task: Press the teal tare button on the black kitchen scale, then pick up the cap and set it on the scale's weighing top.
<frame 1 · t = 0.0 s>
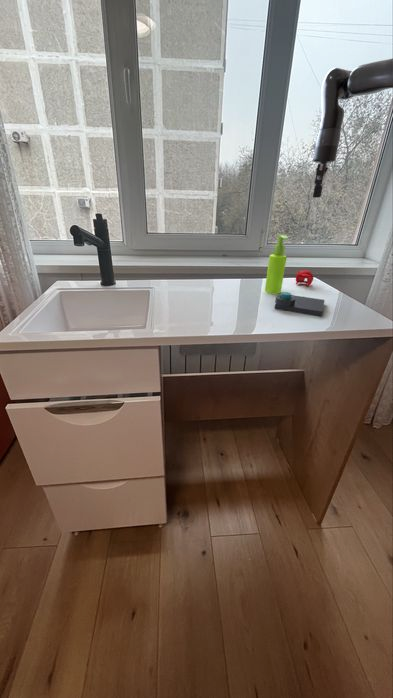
hand: (316, 197, 109), 31 cm above the worktop, tool pointing down, fingers open, 8 cm apart
soap dispenser: (273, 292, 107), on the worktop
tare button: (286, 296, 90), point 4 cm above the worktop, slide at 0.1 cm
scale: (299, 306, 93), on the worktop
cap: (302, 285, 116), on the worktop
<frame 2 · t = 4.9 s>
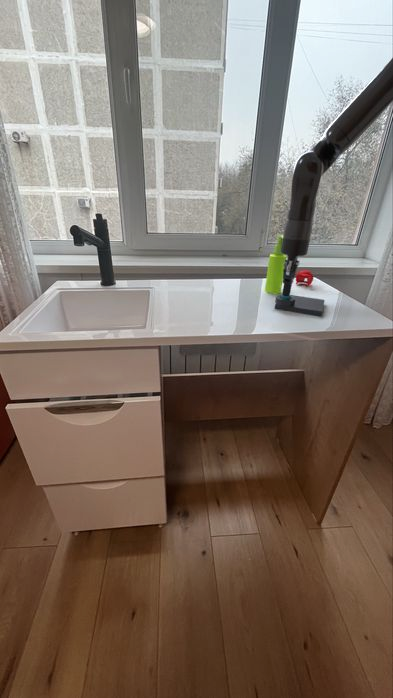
hand: (285, 295, 90), 4 cm above the worktop, tool pointing down, fingers closed
tare button: (285, 297, 91), point 3 cm above the worktop, slide at -0.5 cm, touching gripper
everything else where it was.
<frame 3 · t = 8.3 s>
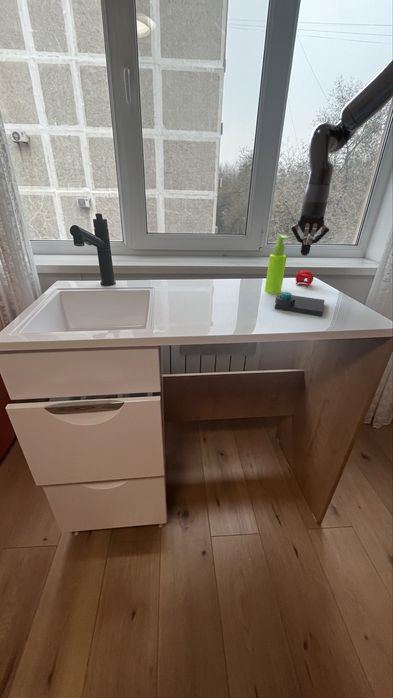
hand: (304, 255, 102), 13 cm above the worktop, tool pointing down, fingers closed
tare button: (286, 296, 90), point 4 cm above the worktop, slide at 0.1 cm
everything else where it was.
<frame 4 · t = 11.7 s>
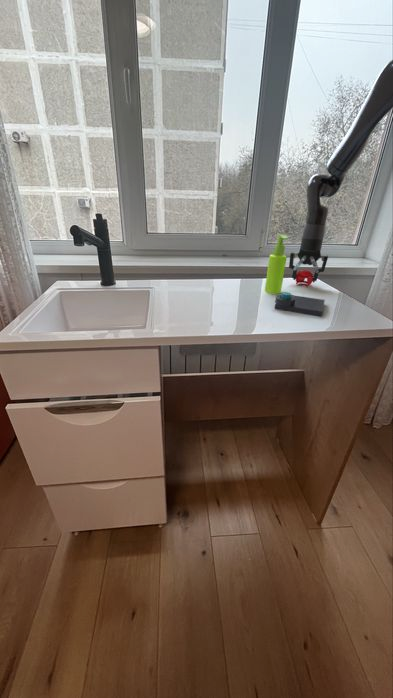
hand: (303, 280, 115), 2 cm above the worktop, tool pointing down, fingers closed on cap, 7 cm apart
cap: (302, 285, 116), on the worktop, touching gripper
everything else where it was.
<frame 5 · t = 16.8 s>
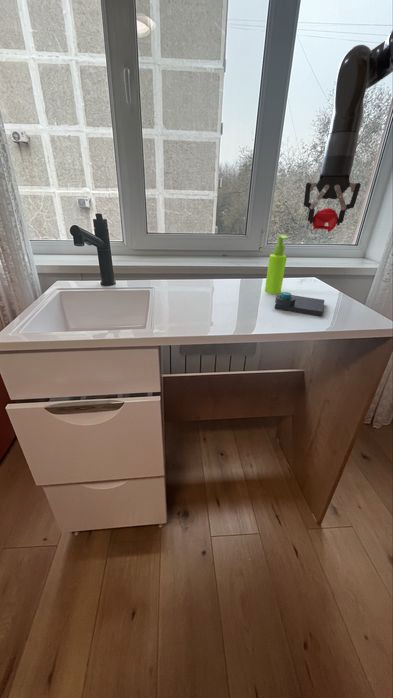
hand: (324, 224, 83), 25 cm above the worktop, tool pointing down, fingers closed on cap, 7 cm apart
cap: (322, 231, 84), point 23 cm above the worktop, touching gripper
everything else where it was.
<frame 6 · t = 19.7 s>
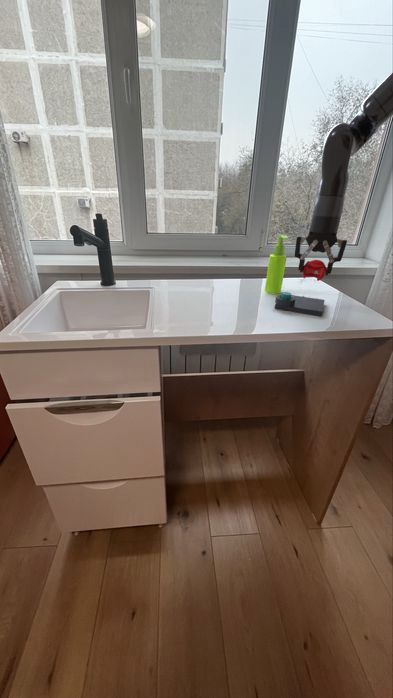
hand: (313, 273, 88), 11 cm above the worktop, tool pointing down, fingers closed on cap, 7 cm apart
cap: (311, 279, 89), point 9 cm above the worktop, touching gripper
everything else where it was.
when the fingers open (4 cm above the worktop, at t = 22.2 s): cap stays where it is, resting on scale.
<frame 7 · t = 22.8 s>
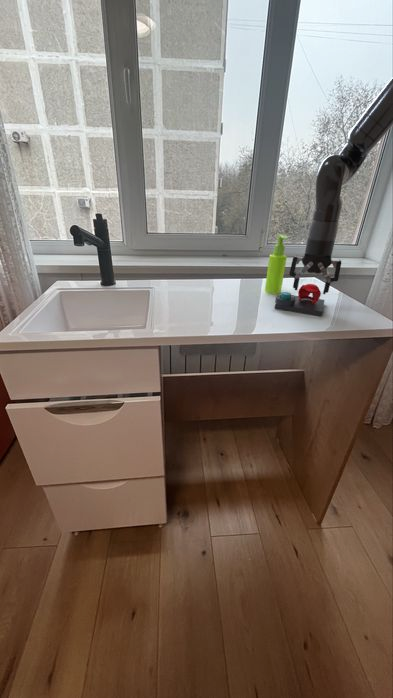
hand: (309, 291, 91), 5 cm above the worktop, tool pointing down, fingers open, 8 cm apart
cap: (306, 302, 93), point 2 cm above the worktop, touching scale
everything else where it was.
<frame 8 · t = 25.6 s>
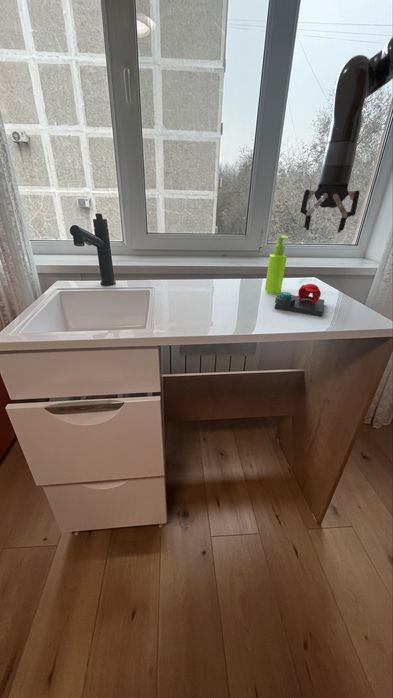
hand: (322, 231, 82), 23 cm above the worktop, tool pointing down, fingers open, 8 cm apart
nothing on the worktop moved.
at the end: tare button pushed in 1.1 cm at the most during the clip, back to where it started at the end; cap inside the target area on the scale (2.1 cm from its centre), point 1.5 cm above the scale's base; cap touching scale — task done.
